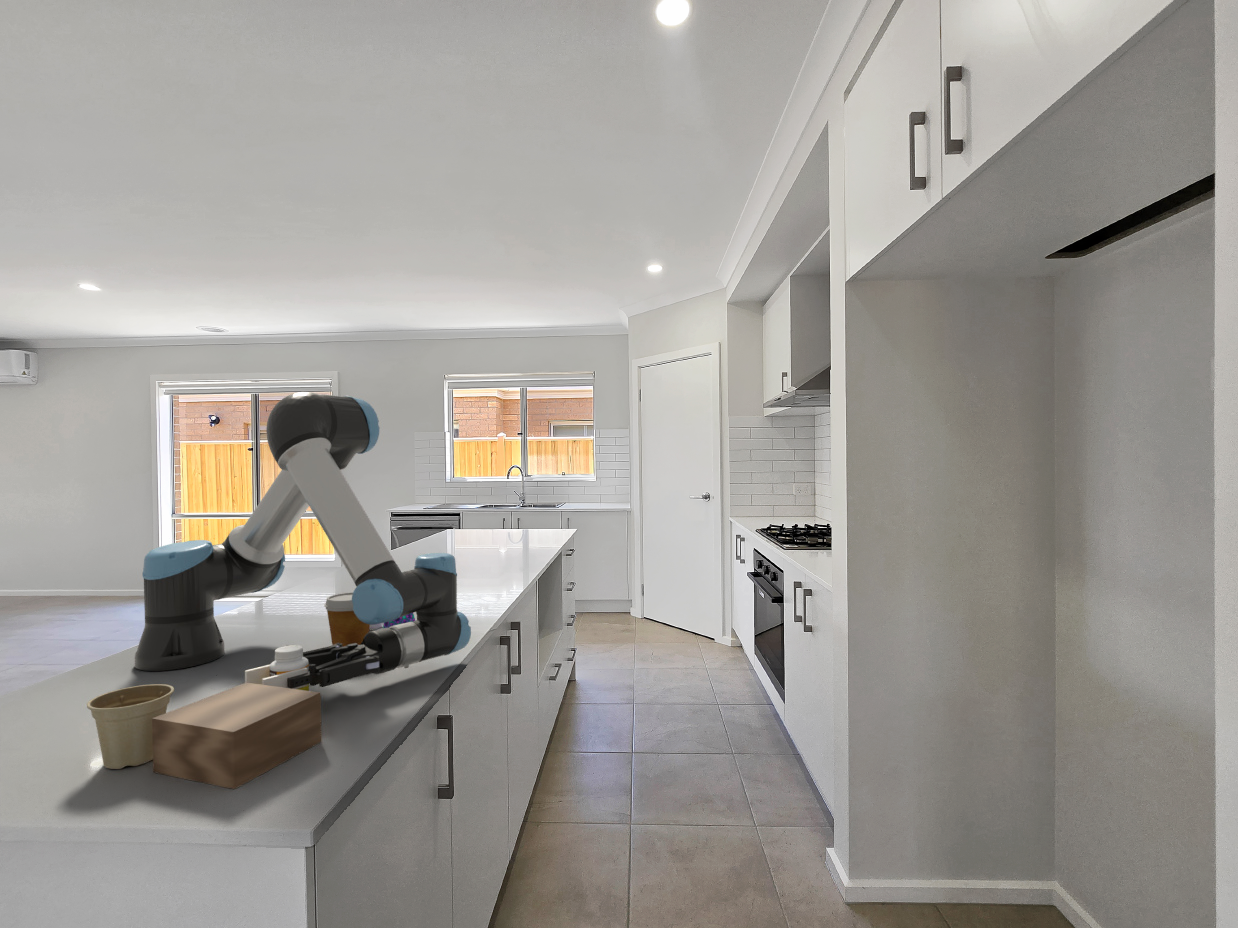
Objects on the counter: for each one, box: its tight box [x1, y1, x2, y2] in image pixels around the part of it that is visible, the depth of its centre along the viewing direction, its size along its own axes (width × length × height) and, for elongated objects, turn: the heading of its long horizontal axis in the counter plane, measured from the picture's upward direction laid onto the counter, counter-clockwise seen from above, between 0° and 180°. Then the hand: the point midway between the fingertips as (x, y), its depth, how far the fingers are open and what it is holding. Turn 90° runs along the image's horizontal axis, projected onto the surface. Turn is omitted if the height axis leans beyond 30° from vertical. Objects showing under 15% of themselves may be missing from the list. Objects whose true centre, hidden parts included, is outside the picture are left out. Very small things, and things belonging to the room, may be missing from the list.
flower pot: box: [86, 683, 175, 770], centre depth 89 cm, size 9×9×9 cm
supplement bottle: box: [269, 644, 310, 691], centre depth 104 cm, size 6×6×10 cm
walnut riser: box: [152, 682, 323, 790], centre depth 89 cm, size 14×14×7 cm
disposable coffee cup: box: [323, 591, 370, 647], centre depth 135 cm, size 10×10×12 cm
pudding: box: [376, 613, 416, 630], centre depth 151 cm, size 12×12×5 cm
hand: (254, 683), depth 100 cm, fingers closed on supplement bottle, 5 cm apart
